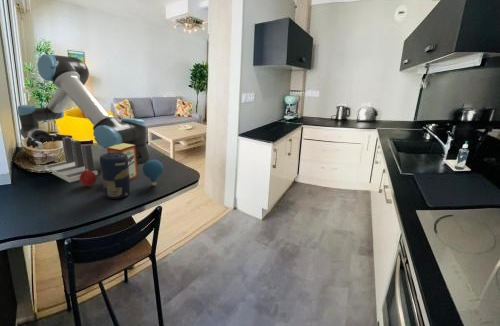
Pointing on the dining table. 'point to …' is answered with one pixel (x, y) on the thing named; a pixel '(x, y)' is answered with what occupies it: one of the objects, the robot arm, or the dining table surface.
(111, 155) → the dark blue cylinder
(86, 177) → the pomegranate
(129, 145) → the baking soda box
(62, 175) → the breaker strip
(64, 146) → the block
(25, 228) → the dining table surface
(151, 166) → the light bulb
